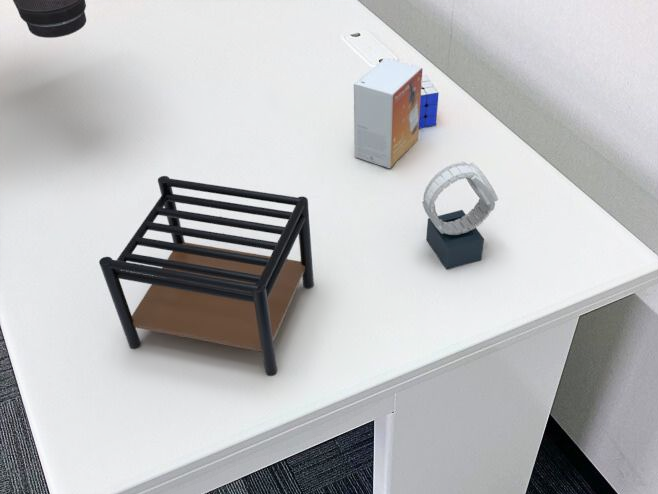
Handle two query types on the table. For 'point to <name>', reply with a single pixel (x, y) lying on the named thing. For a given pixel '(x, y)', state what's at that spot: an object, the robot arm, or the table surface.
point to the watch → (458, 216)
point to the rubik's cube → (428, 103)
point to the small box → (387, 112)
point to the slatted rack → (214, 272)
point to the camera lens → (52, 16)
